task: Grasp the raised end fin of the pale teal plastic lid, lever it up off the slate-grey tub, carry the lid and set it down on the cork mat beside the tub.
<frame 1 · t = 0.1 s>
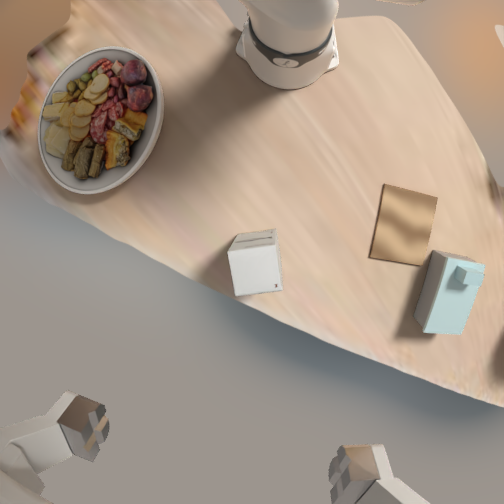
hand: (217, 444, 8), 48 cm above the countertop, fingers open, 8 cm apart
supplement box: (259, 249, 57), on the countertop
lid: (454, 297, 50), point 6 cm above the countertop, touching tub
mat: (404, 226, 53), on the countertop
tub: (441, 286, 56), on the countertop
bowl: (103, 120, 52), on the countertop
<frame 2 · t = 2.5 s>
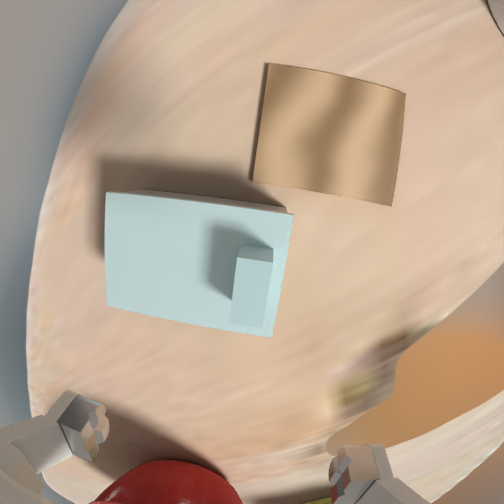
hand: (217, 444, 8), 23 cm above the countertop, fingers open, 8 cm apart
protein box: (339, 502, 44), on the countertop
lid: (189, 263, 25), point 6 cm above the countertop, touching tub
mat: (333, 133, 27), on the countertop
tub: (204, 245, 31), on the countertop
mixing bowl: (188, 477, 44), on the countertop
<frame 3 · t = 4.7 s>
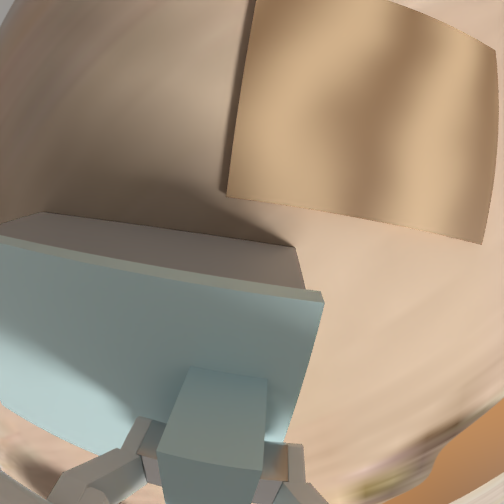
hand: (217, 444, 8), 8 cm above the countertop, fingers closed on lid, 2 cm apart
lid: (94, 375, 10), point 6 cm above the countertop, touching gripper, tub
mat: (388, 101, 12), on the countertop
tub: (144, 313, 16), on the countertop
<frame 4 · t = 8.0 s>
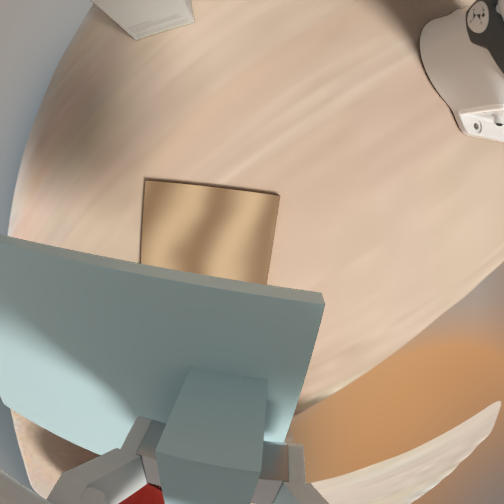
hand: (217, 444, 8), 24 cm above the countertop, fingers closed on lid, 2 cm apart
supplement box: (163, 9, 25), on the countertop
lid: (95, 375, 10), point 22 cm above the countertop, touching gripper
mat: (205, 243, 32), on the countertop
mixing bowl: (141, 490, 47), on the countertop
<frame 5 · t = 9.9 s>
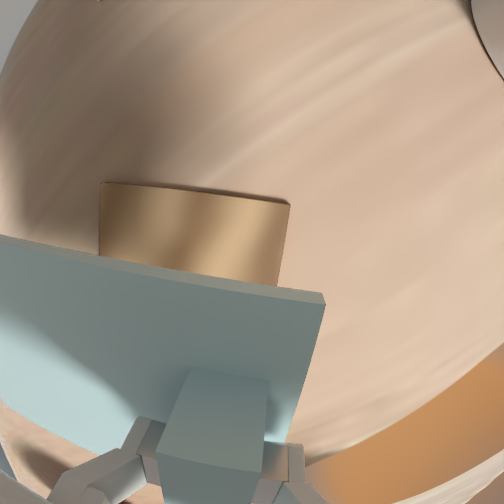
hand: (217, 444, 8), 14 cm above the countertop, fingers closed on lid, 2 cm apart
lid: (95, 375, 10), point 12 cm above the countertop, touching gripper
mat: (182, 271, 22), on the countertop
when the fingers open (7 cm above the countertop, at t = 11.2 s): lid drops 5 cm, resting on mat.
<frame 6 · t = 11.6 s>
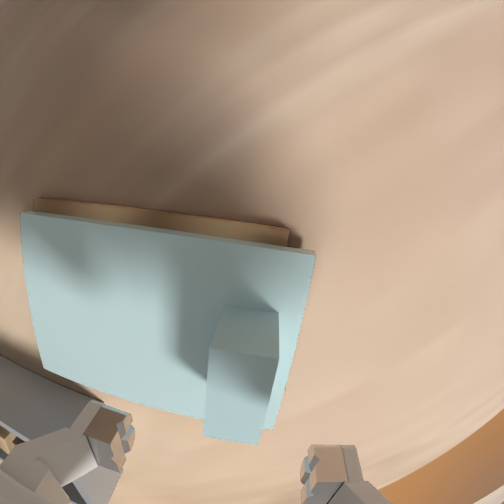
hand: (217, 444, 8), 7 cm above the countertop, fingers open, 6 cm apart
block b: (19, 407, 19), point 1 cm above the countertop, touching tub
lid: (142, 325, 15), point 1 cm above the countertop, touching mat
mat: (140, 318, 15), on the countertop
tub: (44, 411, 19), on the countertop
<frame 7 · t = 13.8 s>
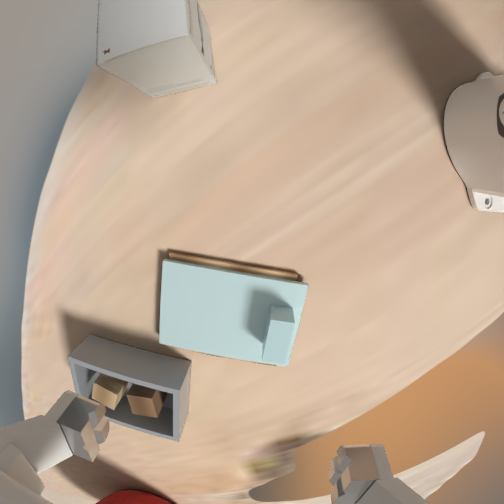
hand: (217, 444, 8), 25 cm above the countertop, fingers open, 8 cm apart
supplement box: (182, 63, 27), on the countertop
block b: (117, 376, 37), point 1 cm above the countertop, touching tub
lid: (228, 314, 34), point 1 cm above the countertop, touching mat
mat: (225, 312, 34), on the countertop
tub: (138, 376, 38), on the countertop
mixing bowl: (151, 502, 50), on the countertop
block a: (153, 384, 37), point 1 cm above the countertop, touching tub
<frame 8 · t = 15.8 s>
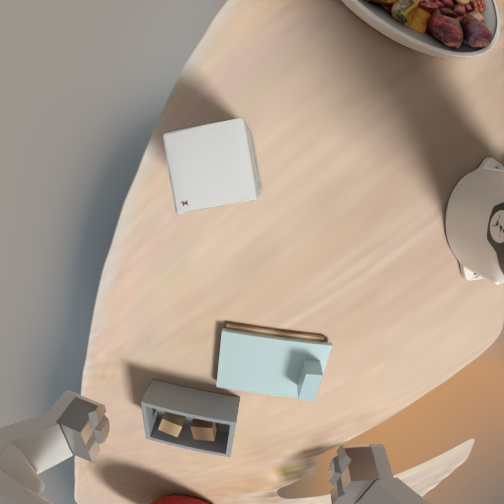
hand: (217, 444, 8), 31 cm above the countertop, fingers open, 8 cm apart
supplement box: (229, 167, 37), on the countertop
block b: (177, 409, 47), point 1 cm above the countertop, touching tub
lid: (271, 365, 43), point 1 cm above the countertop, touching mat
mat: (269, 363, 43), on the countertop
tub: (194, 408, 47), on the countertop
block a: (207, 414, 47), point 1 cm above the countertop, touching tub
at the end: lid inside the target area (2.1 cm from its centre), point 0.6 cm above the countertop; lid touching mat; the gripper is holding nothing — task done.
